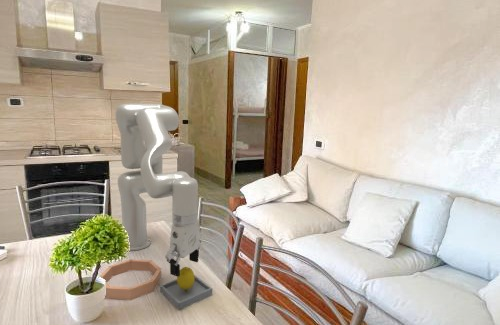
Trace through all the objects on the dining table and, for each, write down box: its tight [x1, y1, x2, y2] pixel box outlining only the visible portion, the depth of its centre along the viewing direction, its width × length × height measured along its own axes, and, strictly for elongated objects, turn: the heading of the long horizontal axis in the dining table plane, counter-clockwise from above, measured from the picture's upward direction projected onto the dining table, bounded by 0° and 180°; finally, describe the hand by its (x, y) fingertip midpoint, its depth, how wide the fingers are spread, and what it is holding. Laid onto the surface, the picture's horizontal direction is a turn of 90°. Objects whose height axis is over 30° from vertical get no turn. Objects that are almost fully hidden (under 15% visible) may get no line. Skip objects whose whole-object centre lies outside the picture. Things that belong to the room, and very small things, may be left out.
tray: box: [159, 274, 213, 311], centre depth 105 cm, size 12×12×2 cm
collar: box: [99, 258, 162, 301], centre depth 110 cm, size 18×18×4 cm
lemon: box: [176, 266, 195, 290], centre depth 104 cm, size 6×6×8 cm
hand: (184, 267), depth 104 cm, fingers open, 9 cm apart
